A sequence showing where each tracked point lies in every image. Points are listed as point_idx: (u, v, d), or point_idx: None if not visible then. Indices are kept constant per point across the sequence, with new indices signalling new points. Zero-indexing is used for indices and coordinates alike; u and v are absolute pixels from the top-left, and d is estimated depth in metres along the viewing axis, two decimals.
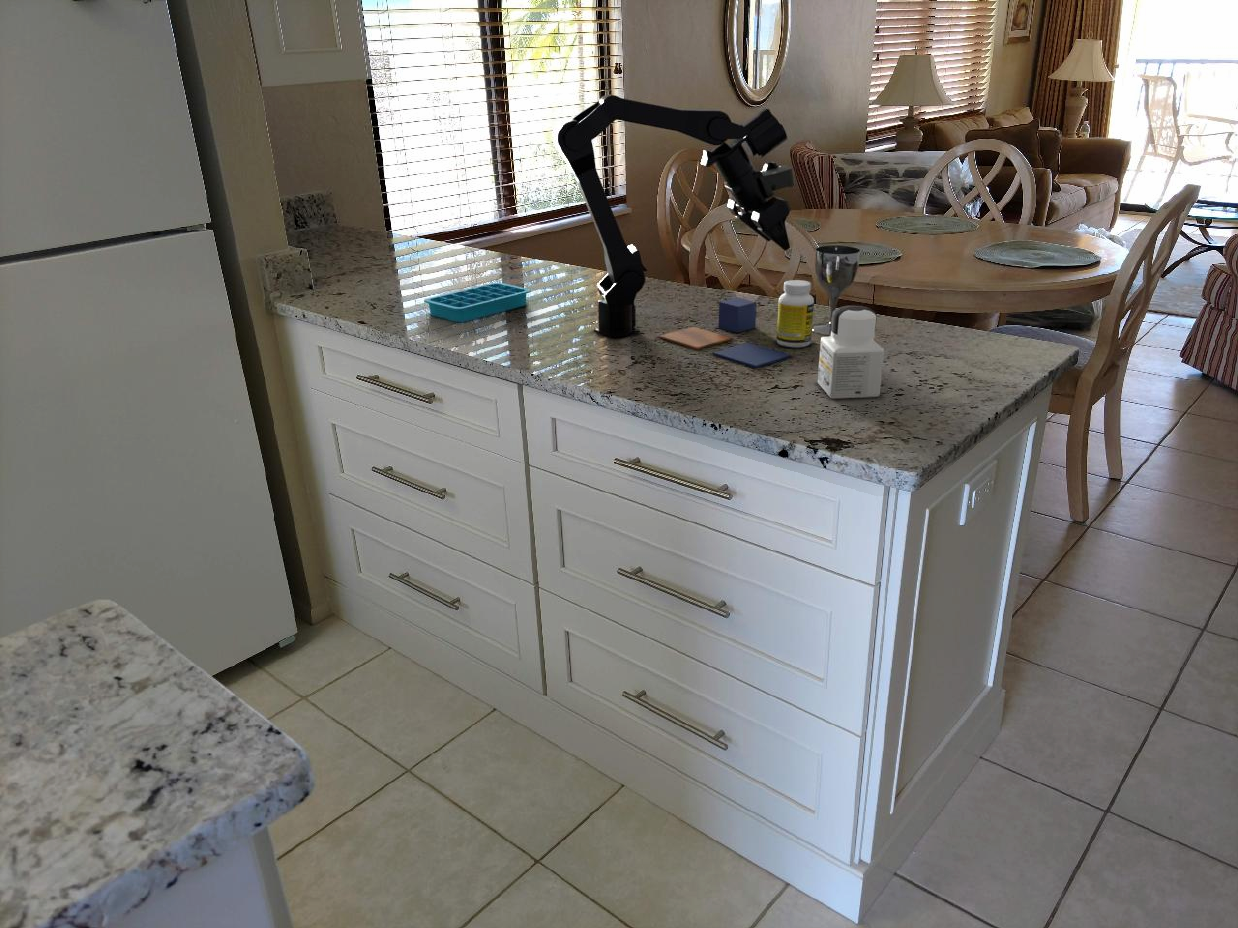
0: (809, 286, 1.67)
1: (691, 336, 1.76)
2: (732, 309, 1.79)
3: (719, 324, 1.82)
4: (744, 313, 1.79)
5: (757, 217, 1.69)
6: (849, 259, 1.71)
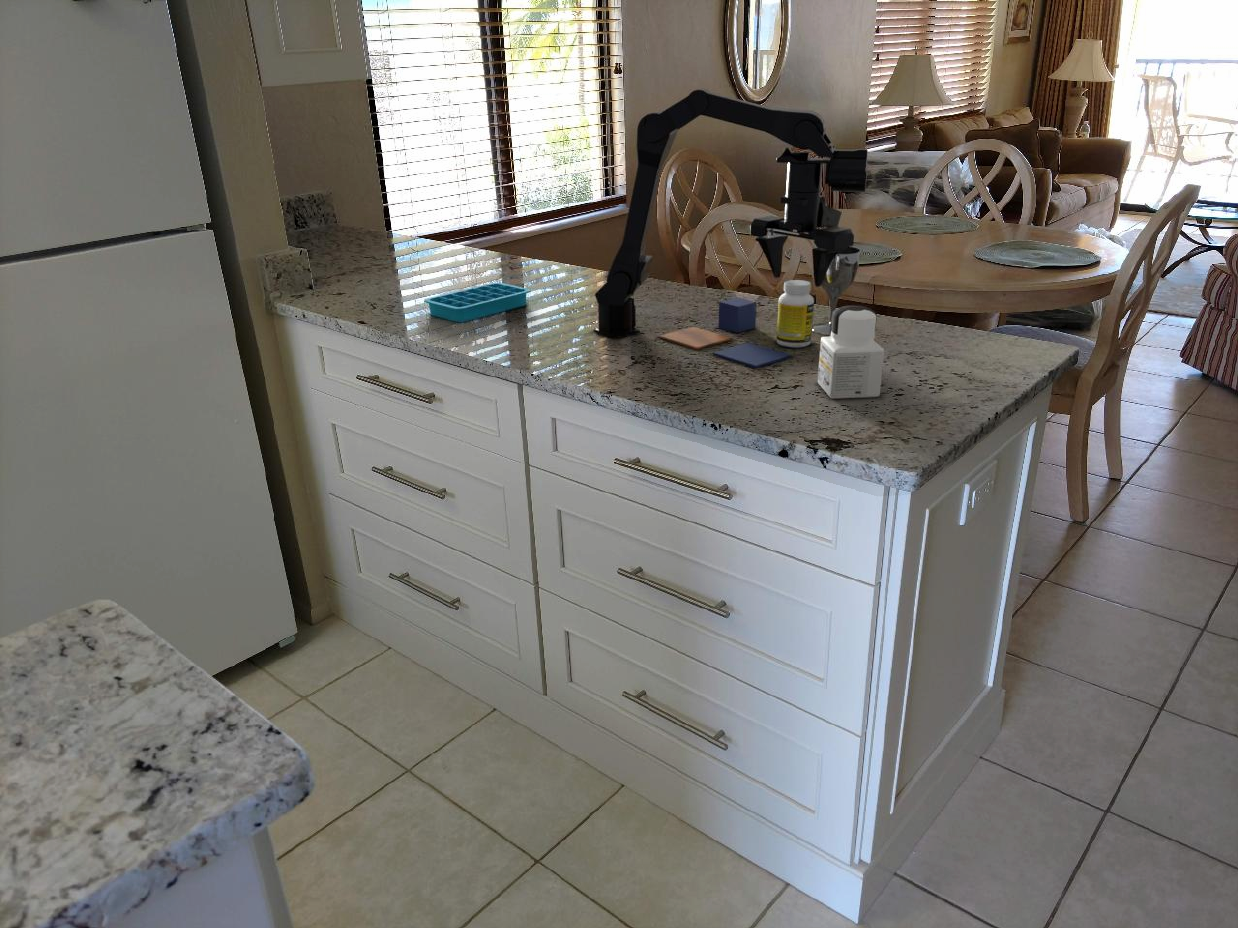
0: (809, 286, 1.67)
1: (691, 336, 1.76)
2: (732, 309, 1.79)
3: (719, 324, 1.82)
4: (744, 313, 1.79)
5: (829, 235, 1.57)
6: (849, 259, 1.71)
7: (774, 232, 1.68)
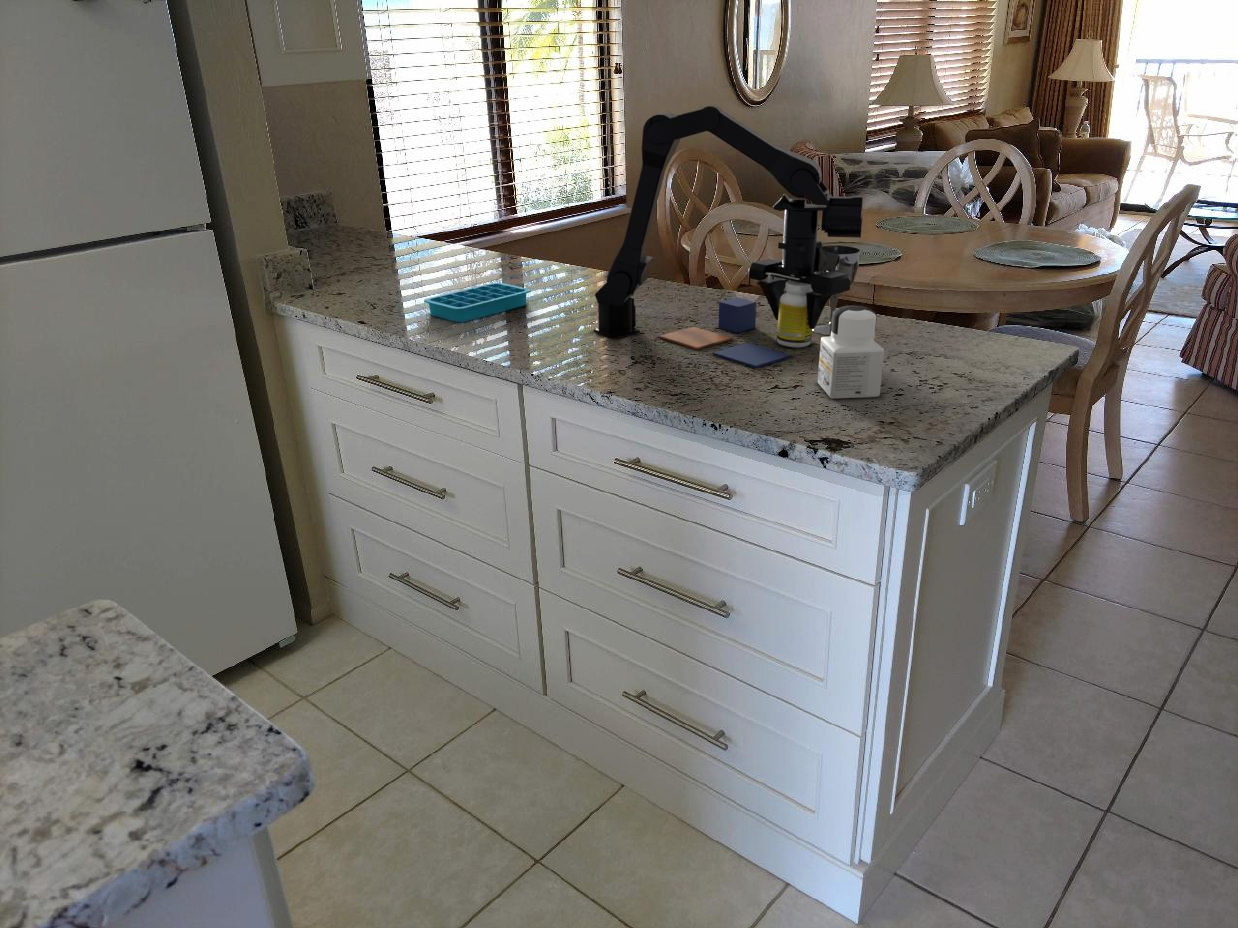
0: None
1: (691, 336, 1.76)
2: (732, 309, 1.79)
3: (719, 324, 1.82)
4: (744, 313, 1.79)
5: (826, 280, 1.60)
6: (849, 259, 1.71)
7: (775, 276, 1.71)
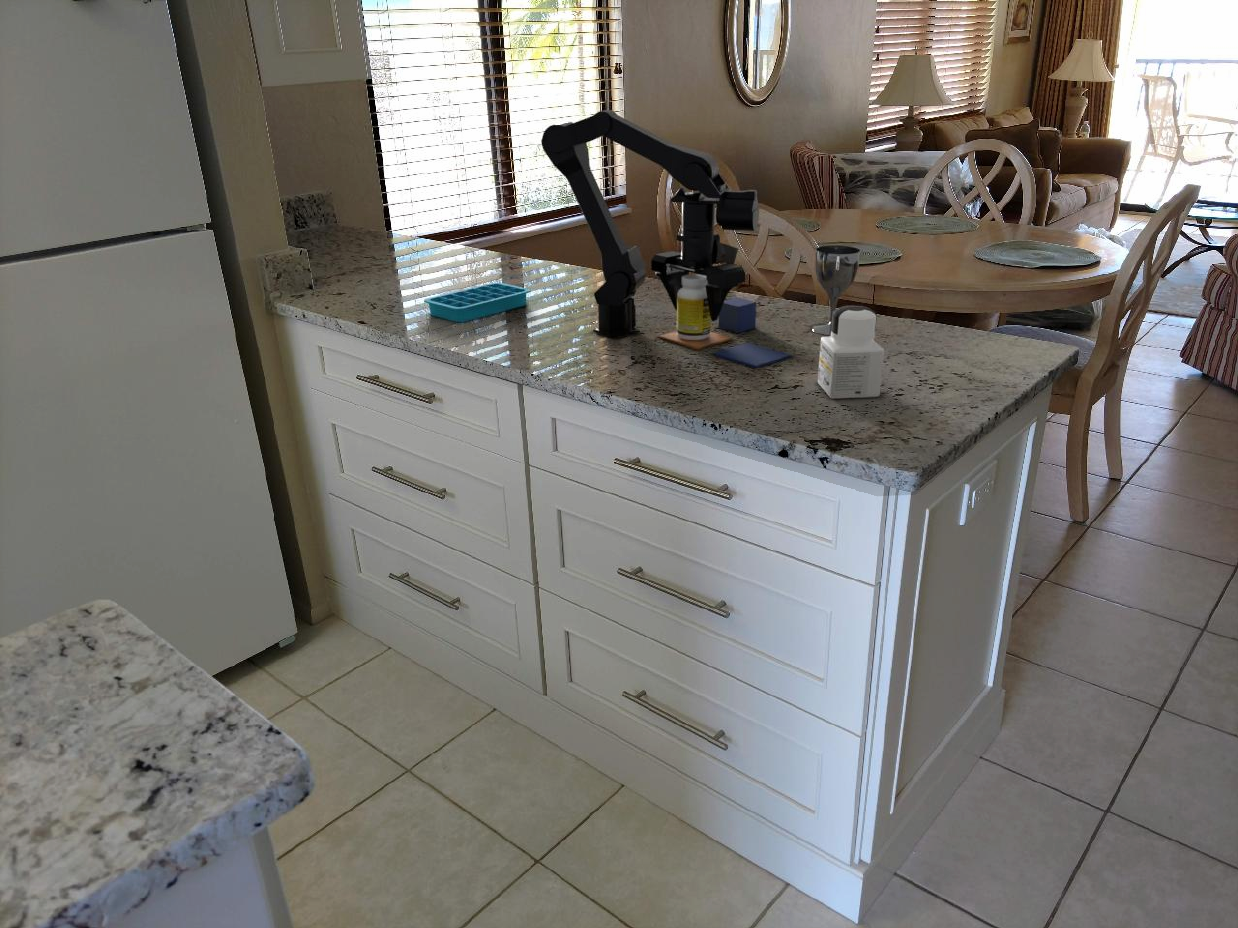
0: (705, 280, 1.70)
1: None
2: (732, 309, 1.79)
3: (719, 324, 1.82)
4: (744, 313, 1.79)
5: (720, 272, 1.63)
6: (849, 259, 1.71)
7: (674, 267, 1.74)
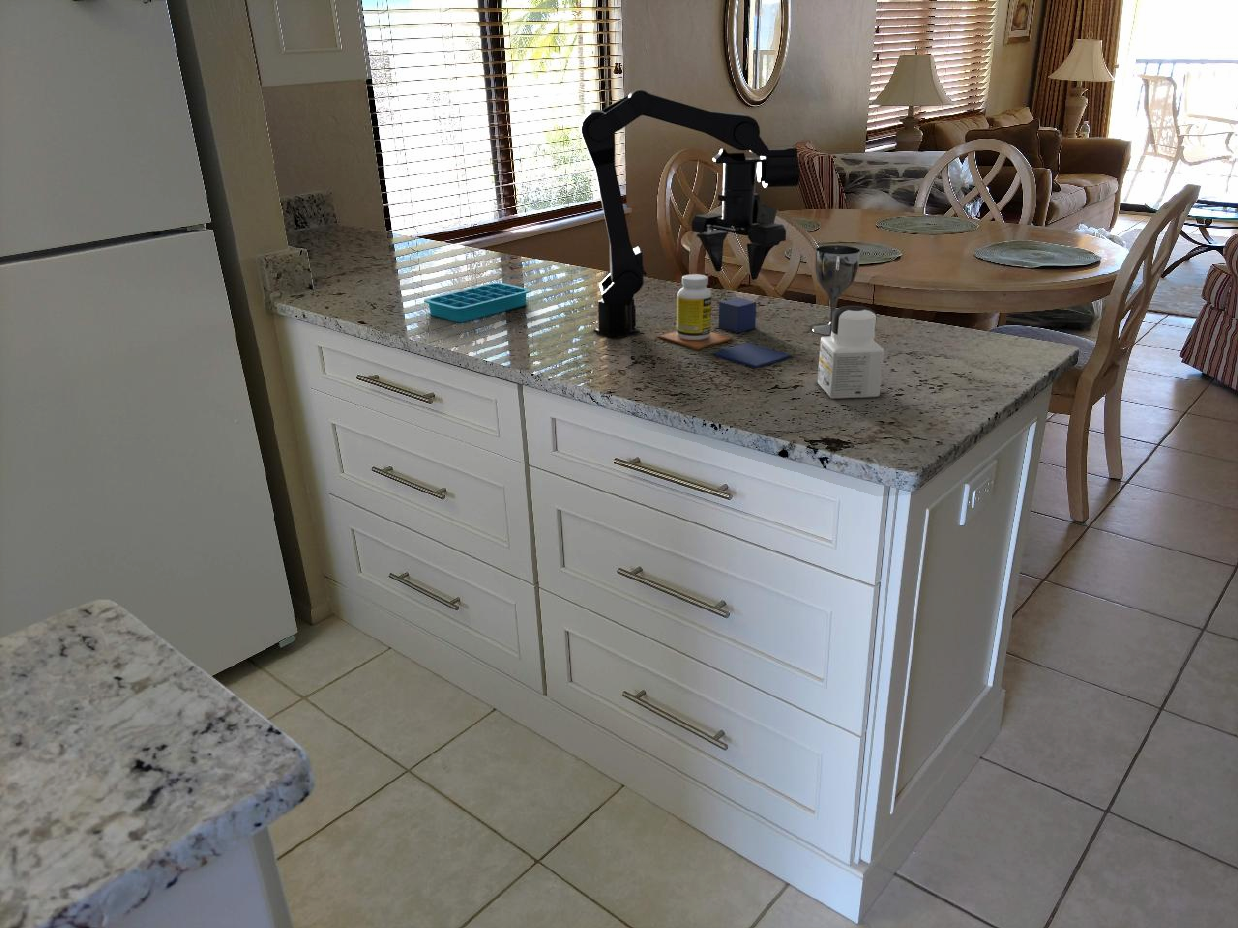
0: (705, 280, 1.70)
1: None
2: (732, 309, 1.79)
3: (719, 324, 1.82)
4: (744, 313, 1.79)
5: (761, 230, 1.66)
6: (849, 259, 1.71)
7: (714, 228, 1.78)
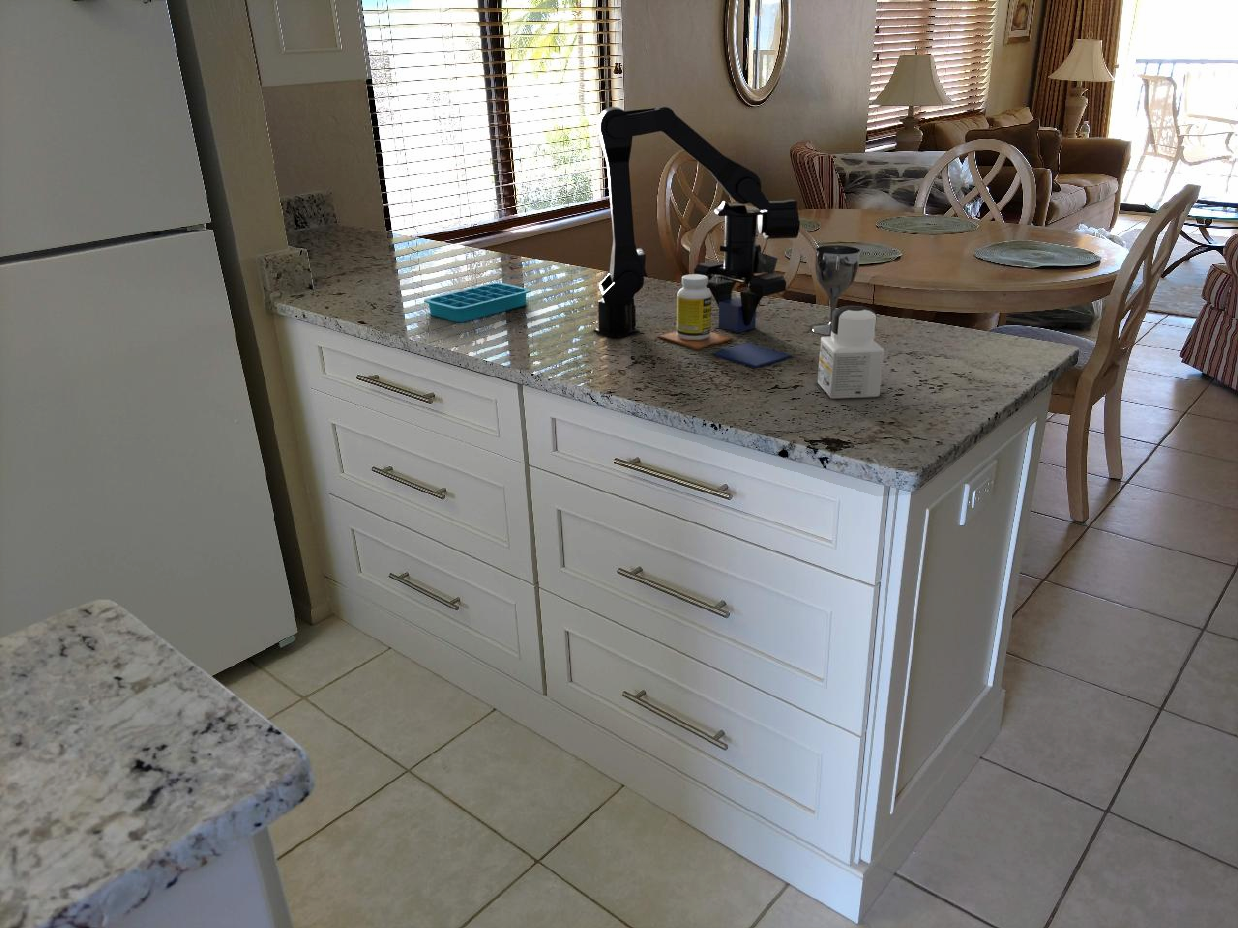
0: (705, 280, 1.70)
1: None
2: (732, 309, 1.79)
3: (719, 324, 1.82)
4: None
5: (762, 282, 1.71)
6: (849, 259, 1.71)
7: (723, 278, 1.81)
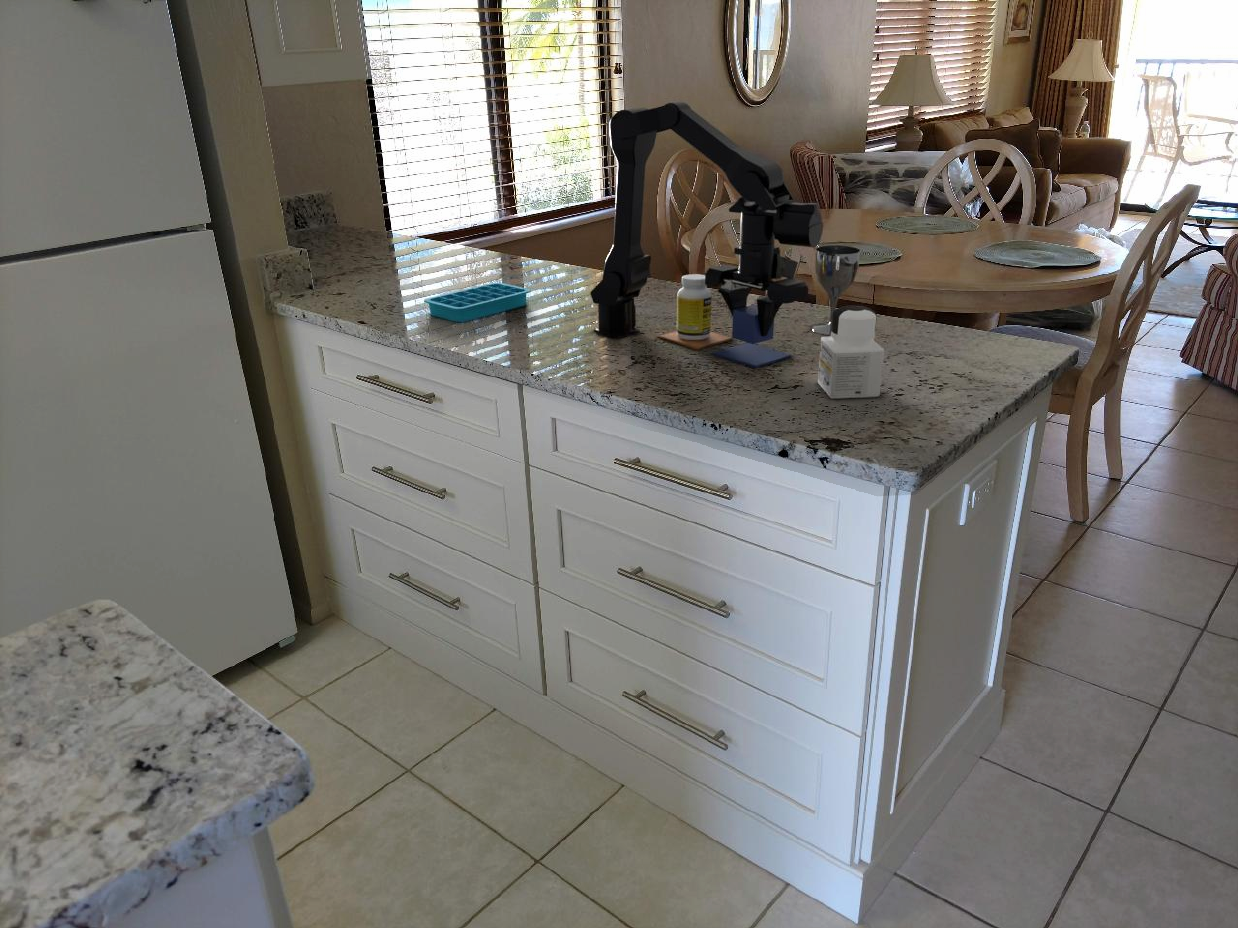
0: None
1: None
2: (748, 318, 1.61)
3: (733, 334, 1.65)
4: None
5: (782, 288, 1.53)
6: (849, 259, 1.71)
7: (737, 284, 1.63)
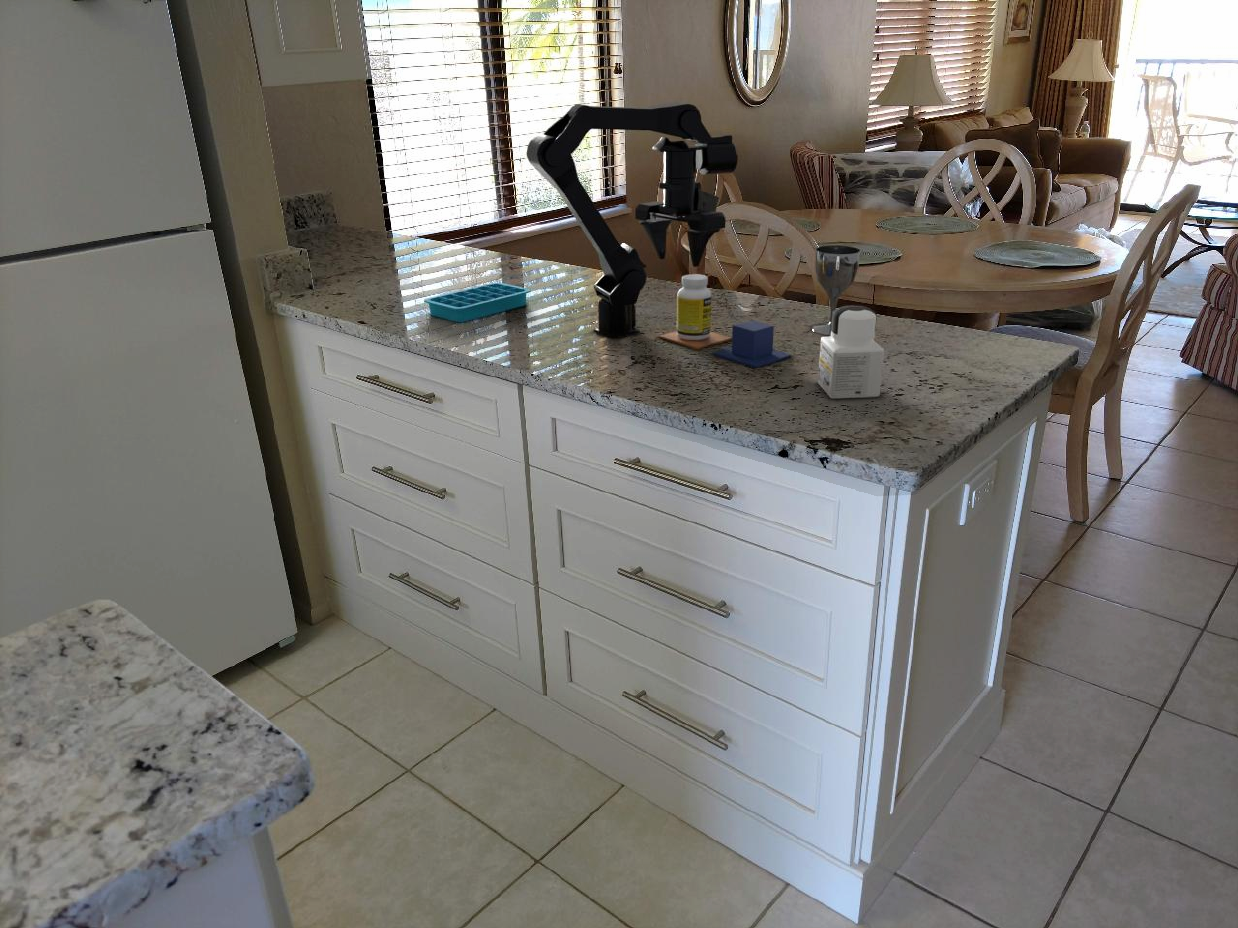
0: (705, 280, 1.70)
1: None
2: (747, 334, 1.62)
3: (732, 350, 1.66)
4: (760, 338, 1.62)
5: (700, 217, 1.69)
6: (849, 259, 1.71)
7: (657, 216, 1.80)
